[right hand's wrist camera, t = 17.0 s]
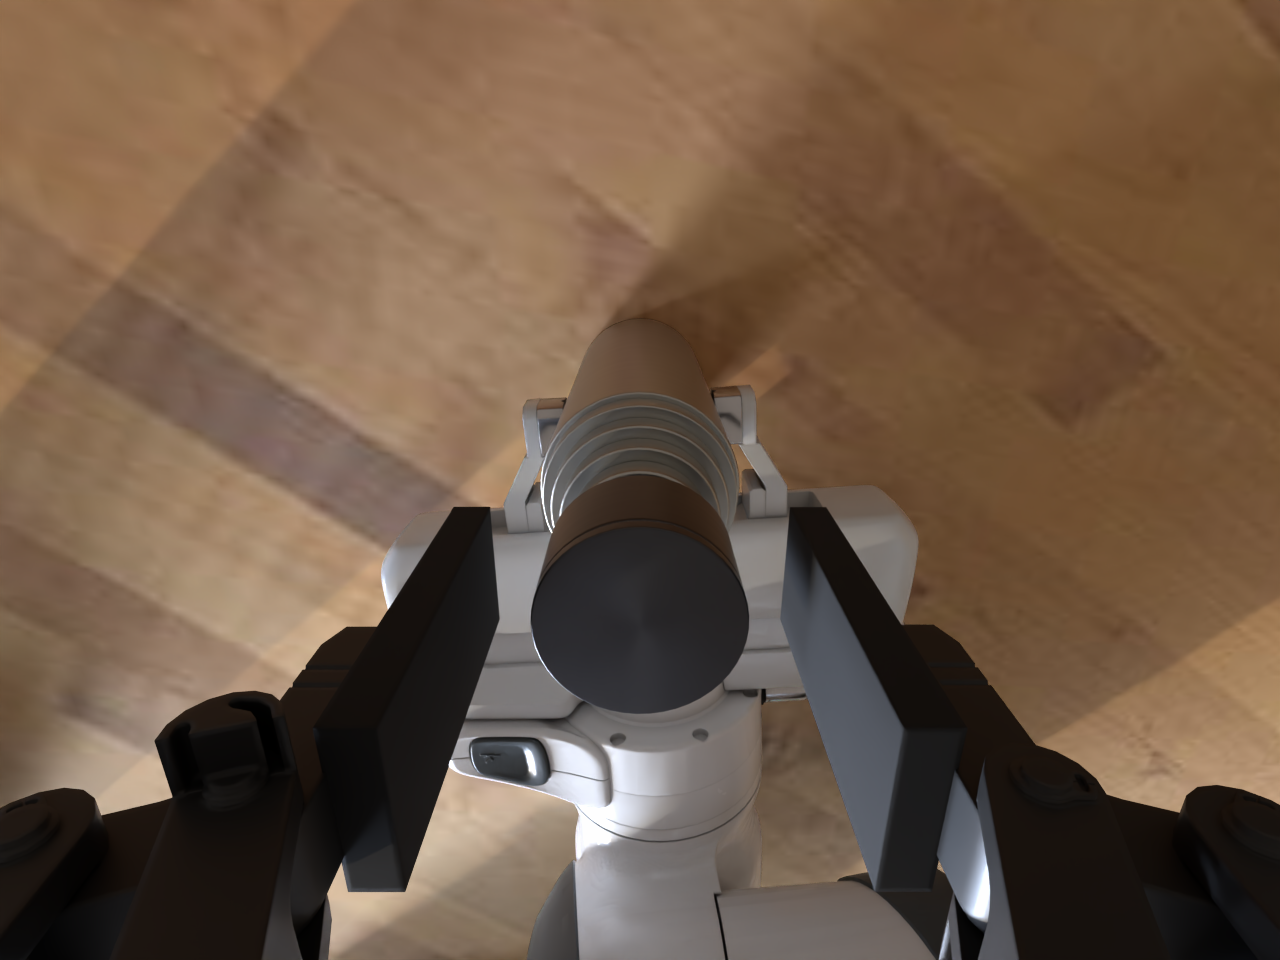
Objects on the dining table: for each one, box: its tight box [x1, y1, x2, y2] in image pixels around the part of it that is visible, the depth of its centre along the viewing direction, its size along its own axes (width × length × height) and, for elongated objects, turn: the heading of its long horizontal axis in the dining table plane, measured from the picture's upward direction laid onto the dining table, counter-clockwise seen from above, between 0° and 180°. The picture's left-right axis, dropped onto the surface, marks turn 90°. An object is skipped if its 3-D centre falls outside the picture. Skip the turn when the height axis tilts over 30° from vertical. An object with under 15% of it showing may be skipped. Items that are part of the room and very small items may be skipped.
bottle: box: [541, 319, 739, 533], centre depth 22 cm, size 5×5×20 cm
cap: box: [530, 475, 749, 714], centre depth 14 cm, size 4×4×3 cm
